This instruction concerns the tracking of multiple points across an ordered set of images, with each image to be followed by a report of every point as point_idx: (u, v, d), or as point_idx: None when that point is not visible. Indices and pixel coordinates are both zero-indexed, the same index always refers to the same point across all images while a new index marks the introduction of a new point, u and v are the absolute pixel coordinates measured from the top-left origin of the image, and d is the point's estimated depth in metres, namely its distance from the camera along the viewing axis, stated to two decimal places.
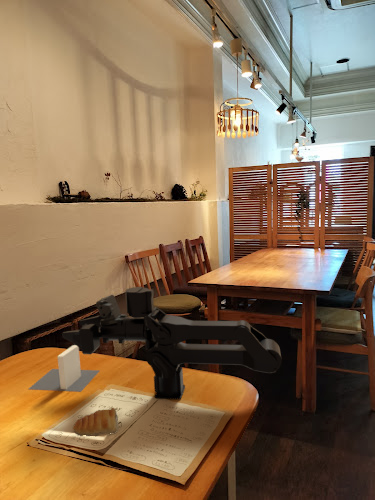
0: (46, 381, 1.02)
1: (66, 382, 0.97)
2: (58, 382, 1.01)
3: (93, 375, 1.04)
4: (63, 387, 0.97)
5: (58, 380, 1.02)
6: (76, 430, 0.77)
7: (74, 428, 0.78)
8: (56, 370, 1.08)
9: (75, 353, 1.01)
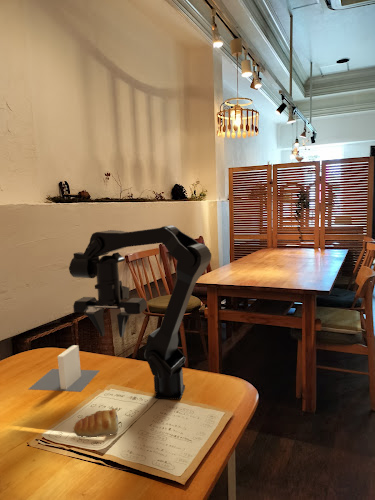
0: (46, 381, 1.02)
1: (66, 382, 0.97)
2: (58, 382, 1.01)
3: (93, 375, 1.04)
4: (63, 387, 0.97)
5: (58, 380, 1.02)
6: (76, 431, 0.77)
7: (74, 429, 0.78)
8: (56, 370, 1.08)
9: (75, 353, 1.01)
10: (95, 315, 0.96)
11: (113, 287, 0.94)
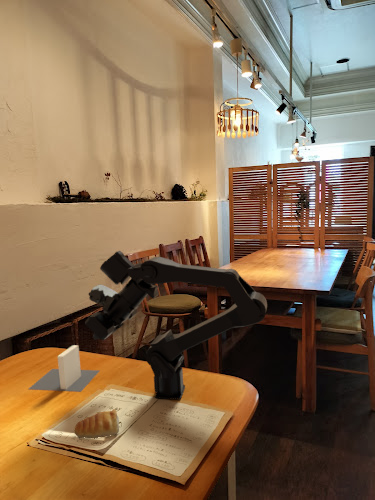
0: (46, 381, 1.02)
1: (66, 382, 0.97)
2: (58, 382, 1.01)
3: (93, 375, 1.04)
4: (63, 387, 0.97)
5: (58, 380, 1.02)
6: (77, 432, 0.77)
7: (75, 430, 0.77)
8: (56, 370, 1.08)
9: (75, 353, 1.01)
10: None
11: None
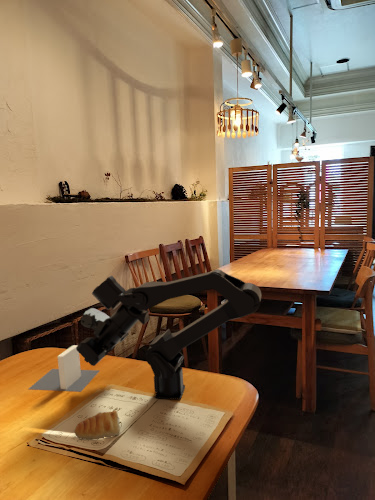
0: (46, 381, 1.02)
1: (66, 382, 0.97)
2: (58, 382, 1.01)
3: (93, 375, 1.04)
4: (63, 387, 0.97)
5: (58, 380, 1.02)
6: (78, 433, 0.76)
7: (76, 431, 0.77)
8: (56, 370, 1.08)
9: (75, 353, 1.01)
10: None
11: None
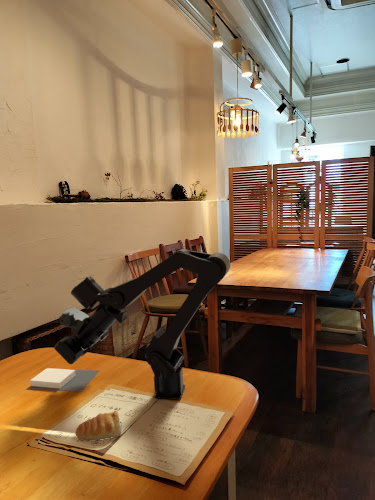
0: None
1: (56, 381, 0.98)
2: None
3: (93, 375, 1.04)
4: (58, 385, 0.97)
5: None
6: (79, 435, 0.76)
7: (77, 433, 0.76)
8: None
9: (48, 371, 1.04)
10: None
11: None
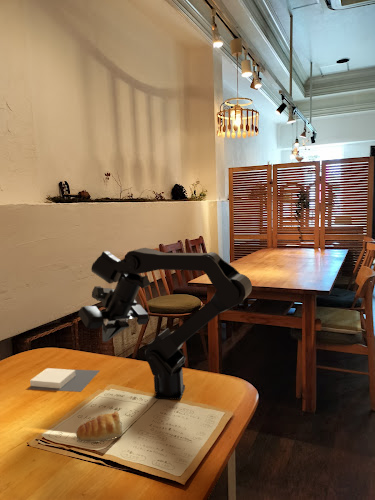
0: None
1: (56, 381, 0.98)
2: None
3: (93, 375, 1.04)
4: (58, 385, 0.97)
5: None
6: (80, 436, 0.75)
7: (77, 434, 0.76)
8: None
9: (48, 371, 1.04)
10: None
11: None
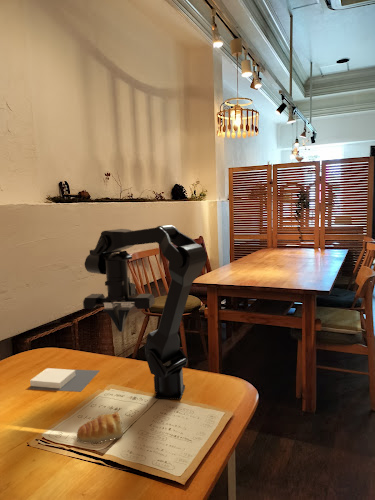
0: None
1: (56, 381, 0.98)
2: None
3: (93, 375, 1.04)
4: (58, 385, 0.97)
5: None
6: (80, 437, 0.75)
7: (78, 435, 0.75)
8: None
9: (48, 371, 1.04)
10: (114, 311, 0.99)
11: (123, 283, 0.98)
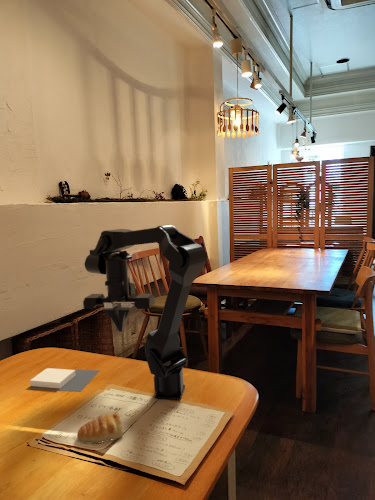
0: None
1: (56, 381, 0.98)
2: None
3: (93, 375, 1.04)
4: (58, 385, 0.97)
5: None
6: (81, 437, 0.75)
7: (78, 435, 0.75)
8: None
9: (48, 371, 1.04)
10: (114, 311, 0.99)
11: (123, 283, 0.98)
